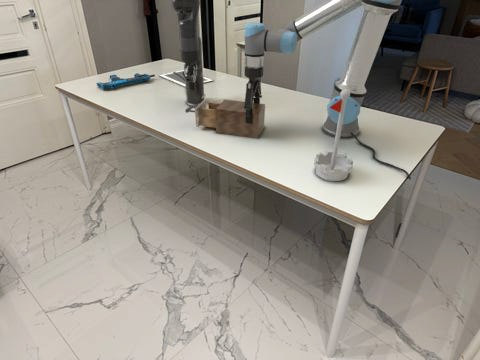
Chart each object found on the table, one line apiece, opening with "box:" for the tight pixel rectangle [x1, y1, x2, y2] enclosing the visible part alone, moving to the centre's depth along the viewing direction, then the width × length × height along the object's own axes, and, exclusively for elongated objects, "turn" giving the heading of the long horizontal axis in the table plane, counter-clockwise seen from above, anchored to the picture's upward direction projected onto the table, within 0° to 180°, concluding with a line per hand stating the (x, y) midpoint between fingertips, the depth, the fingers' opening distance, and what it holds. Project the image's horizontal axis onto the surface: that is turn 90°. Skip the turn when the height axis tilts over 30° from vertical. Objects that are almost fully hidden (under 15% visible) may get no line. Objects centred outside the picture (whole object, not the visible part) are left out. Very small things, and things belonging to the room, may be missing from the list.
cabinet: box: [215, 99, 266, 139], centre depth 148 cm, size 19×12×11 cm, turn 73°
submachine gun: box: [95, 72, 156, 91], centre depth 209 cm, size 34×4×25 cm
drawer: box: [184, 99, 221, 129], centre depth 151 cm, size 23×10×9 cm, turn 73°
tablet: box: [158, 69, 214, 88], centre depth 216 cm, size 32×20×1 cm, turn 41°
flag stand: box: [313, 89, 354, 182], centre depth 112 cm, size 13×13×30 cm
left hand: (193, 90), depth 147 cm, fingers closed
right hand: (252, 117), depth 146 cm, fingers closed on cabinet, 12 cm apart
